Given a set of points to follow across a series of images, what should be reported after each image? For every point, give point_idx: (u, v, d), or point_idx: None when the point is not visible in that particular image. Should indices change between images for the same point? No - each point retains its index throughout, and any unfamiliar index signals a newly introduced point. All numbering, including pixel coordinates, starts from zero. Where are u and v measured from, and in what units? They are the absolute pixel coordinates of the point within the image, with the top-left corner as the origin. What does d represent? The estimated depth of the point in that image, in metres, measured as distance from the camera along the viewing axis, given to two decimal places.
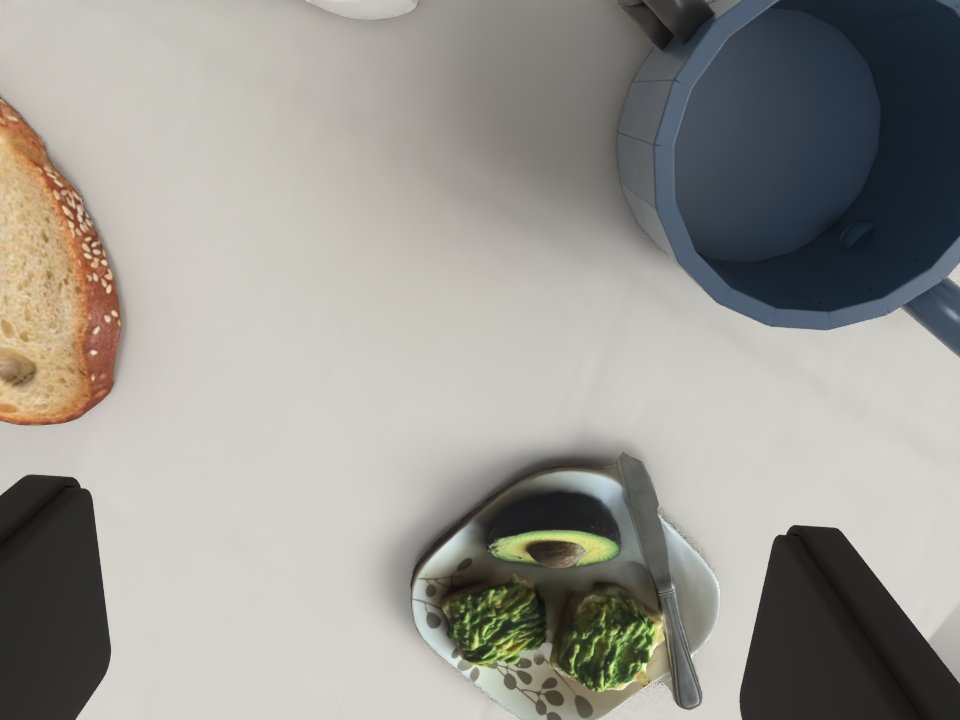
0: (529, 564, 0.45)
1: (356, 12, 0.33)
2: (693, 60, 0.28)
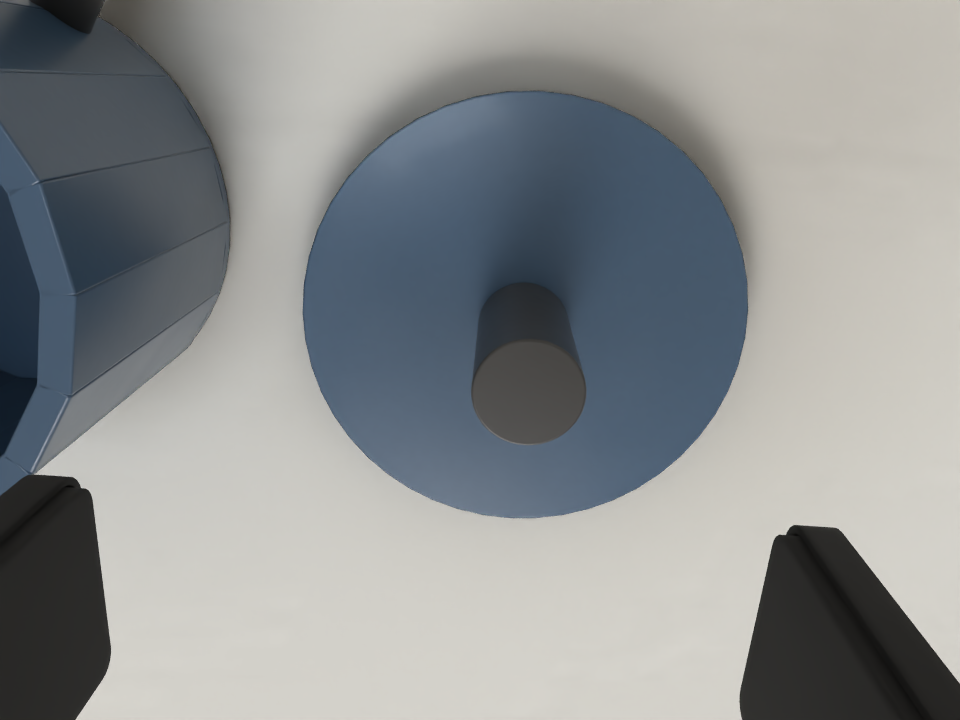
0: None
1: None
2: None
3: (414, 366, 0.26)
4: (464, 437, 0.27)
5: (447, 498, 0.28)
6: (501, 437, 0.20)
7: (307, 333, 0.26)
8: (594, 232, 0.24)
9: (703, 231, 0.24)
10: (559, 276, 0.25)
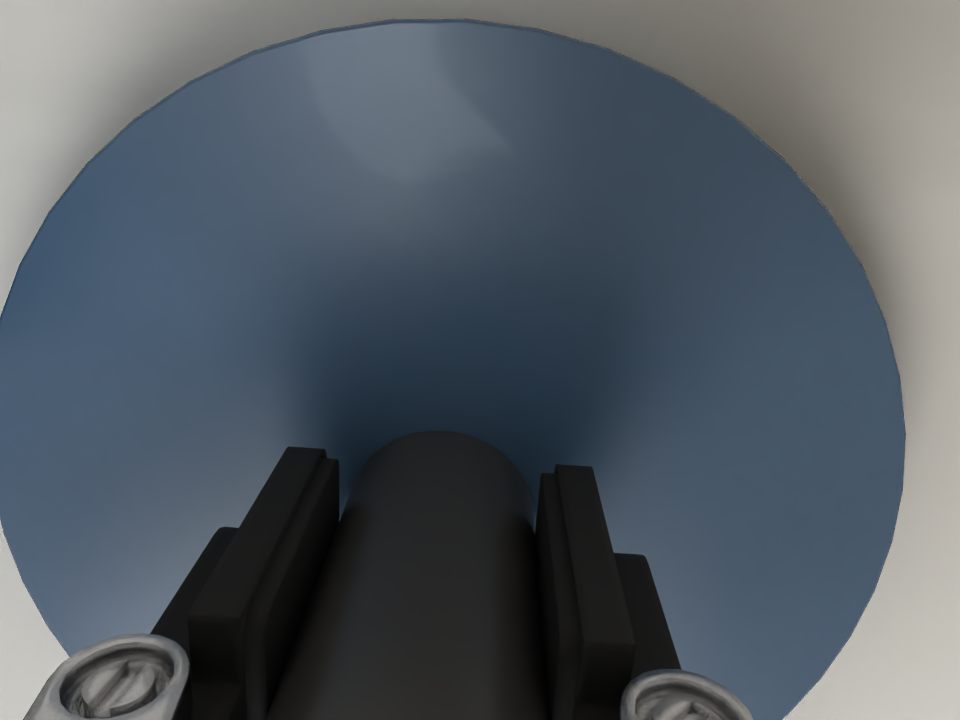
0: None
1: None
2: None
3: None
4: None
5: None
6: None
7: (4, 521, 0.13)
8: (588, 331, 0.11)
9: (820, 333, 0.11)
10: (513, 419, 0.12)
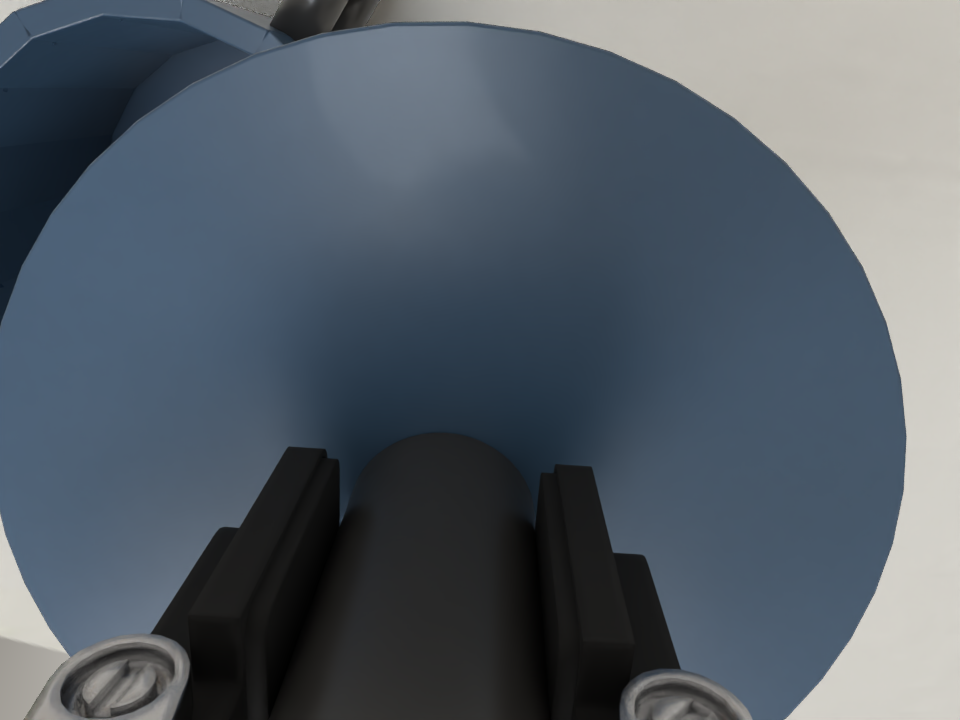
0: None
1: None
2: (213, 12, 0.20)
3: None
4: None
5: None
6: None
7: (6, 522, 0.13)
8: (589, 333, 0.11)
9: (821, 335, 0.11)
10: (515, 420, 0.12)
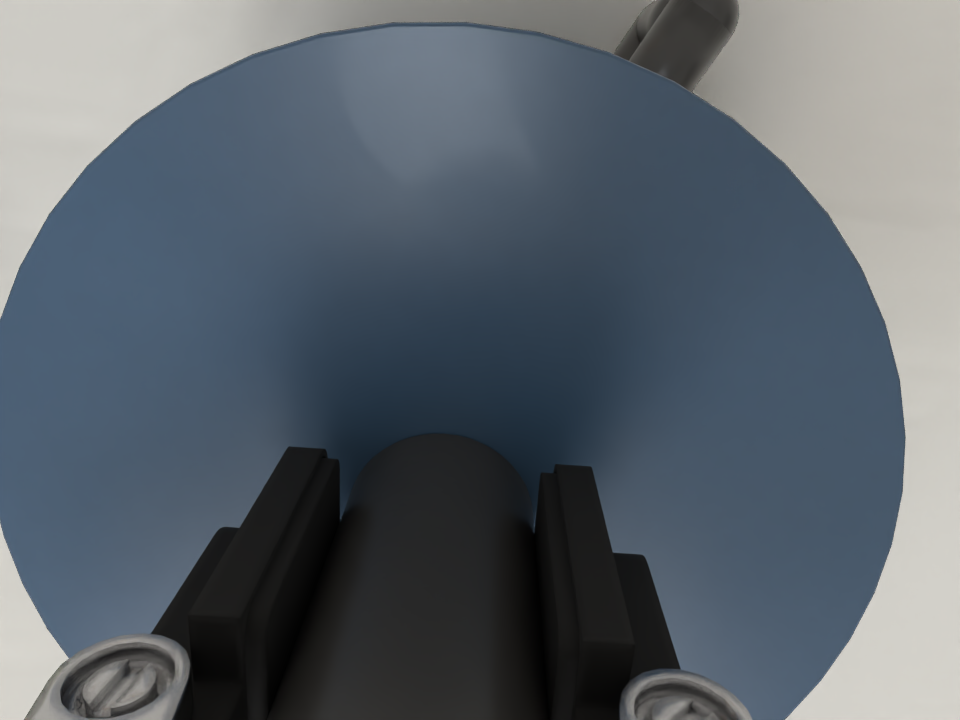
0: None
1: None
2: None
3: None
4: None
5: None
6: None
7: (4, 523, 0.13)
8: (587, 334, 0.11)
9: (820, 336, 0.11)
10: (513, 421, 0.12)
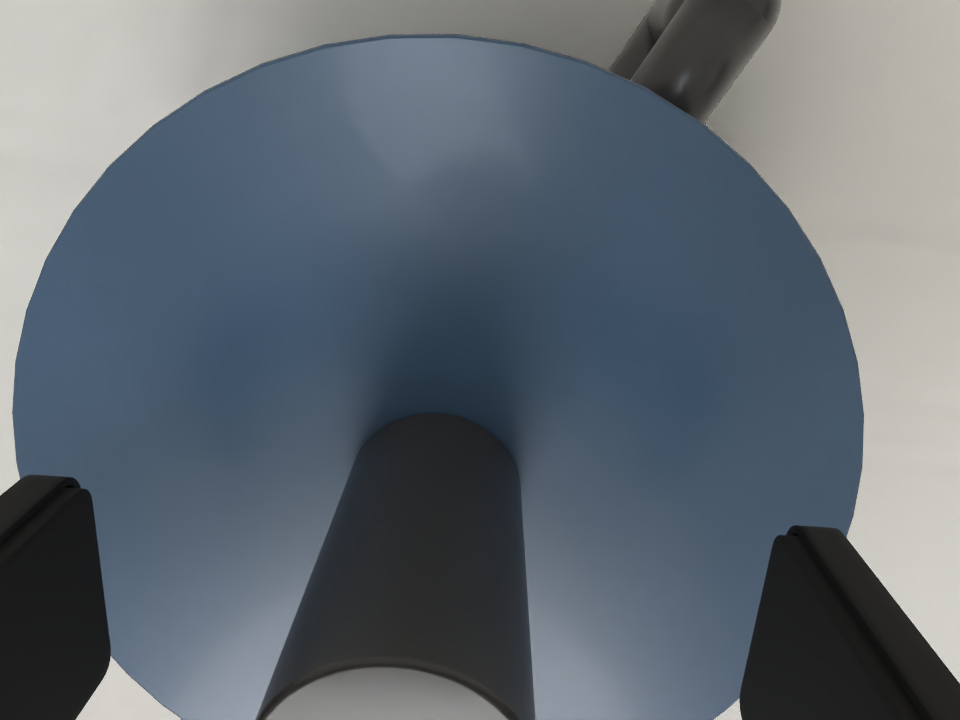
0: None
1: None
2: None
3: (235, 558, 0.14)
4: None
5: None
6: None
7: None
8: (570, 321, 0.12)
9: (783, 322, 0.12)
10: (502, 402, 0.13)
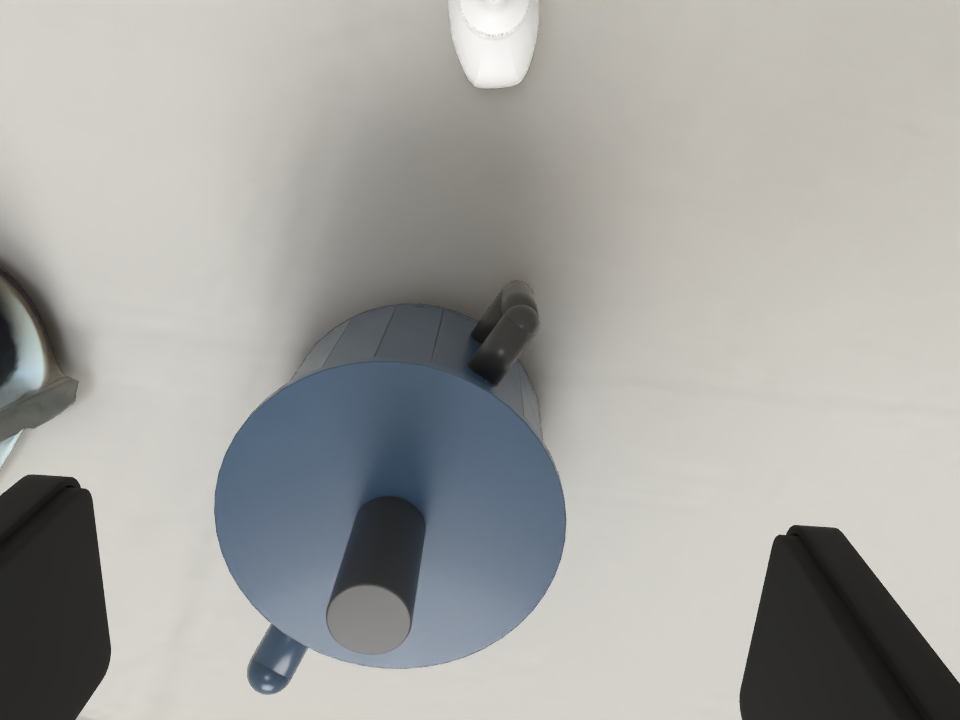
0: None
1: None
2: None
3: (304, 554, 0.32)
4: None
5: (333, 652, 0.34)
6: (349, 649, 0.27)
7: (218, 528, 0.32)
8: (443, 461, 0.31)
9: (528, 463, 0.31)
10: (417, 492, 0.31)
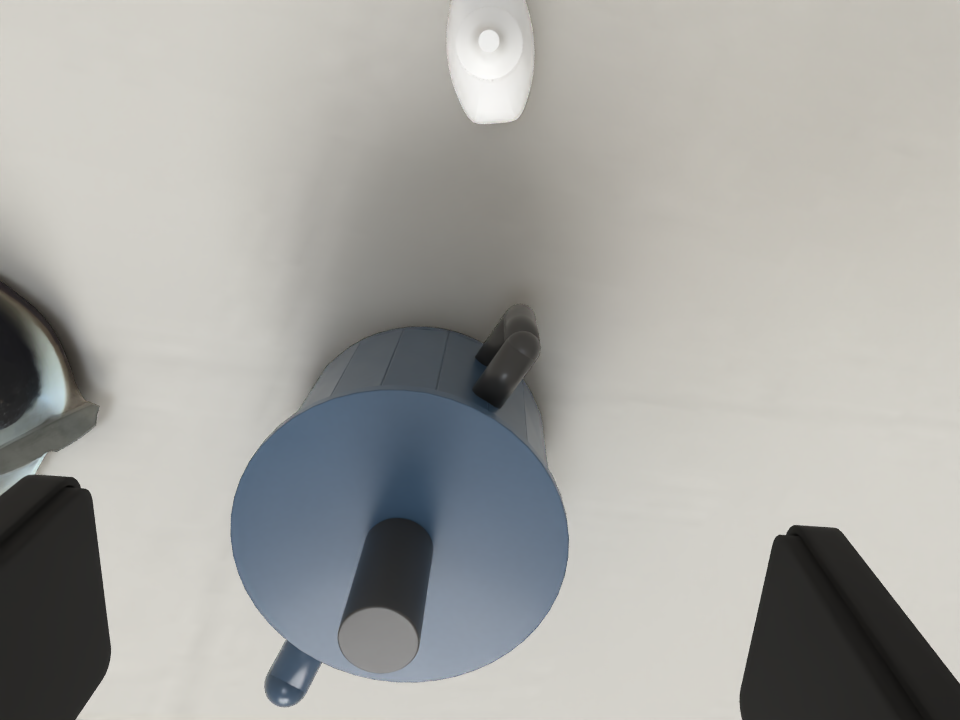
0: None
1: None
2: None
3: (317, 574, 0.34)
4: None
5: (346, 667, 0.35)
6: (360, 668, 0.28)
7: (234, 550, 0.33)
8: (449, 484, 0.32)
9: (530, 485, 0.32)
10: (424, 513, 0.33)
